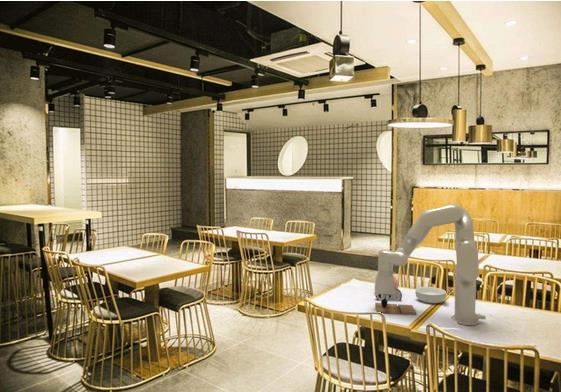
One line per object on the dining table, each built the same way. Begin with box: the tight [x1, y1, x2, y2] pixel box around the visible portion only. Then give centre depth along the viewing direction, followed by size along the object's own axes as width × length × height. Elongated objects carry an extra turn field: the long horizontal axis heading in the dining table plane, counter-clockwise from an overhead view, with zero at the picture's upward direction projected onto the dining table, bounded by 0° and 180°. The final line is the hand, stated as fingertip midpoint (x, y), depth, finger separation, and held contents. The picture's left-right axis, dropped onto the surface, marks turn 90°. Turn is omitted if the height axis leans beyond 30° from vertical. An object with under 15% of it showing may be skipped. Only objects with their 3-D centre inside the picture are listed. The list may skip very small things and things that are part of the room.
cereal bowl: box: [414, 286, 447, 304], centre depth 233 cm, size 17×17×7 cm
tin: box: [374, 287, 403, 302], centre depth 233 cm, size 15×3×8 cm, turn 84°
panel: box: [374, 302, 401, 315], centre depth 216 cm, size 11×12×2 cm
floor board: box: [397, 303, 417, 316], centre depth 216 cm, size 22×13×2 cm, turn 82°
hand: (384, 306), depth 217 cm, fingers closed
